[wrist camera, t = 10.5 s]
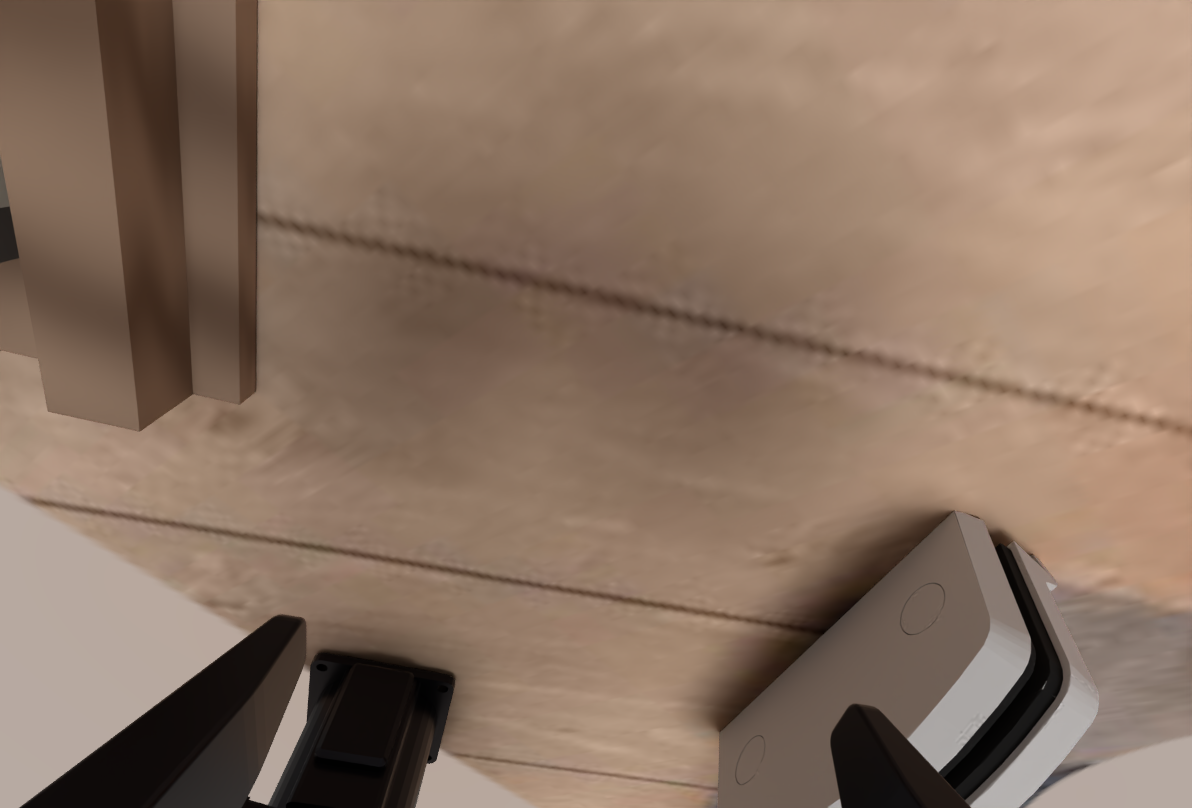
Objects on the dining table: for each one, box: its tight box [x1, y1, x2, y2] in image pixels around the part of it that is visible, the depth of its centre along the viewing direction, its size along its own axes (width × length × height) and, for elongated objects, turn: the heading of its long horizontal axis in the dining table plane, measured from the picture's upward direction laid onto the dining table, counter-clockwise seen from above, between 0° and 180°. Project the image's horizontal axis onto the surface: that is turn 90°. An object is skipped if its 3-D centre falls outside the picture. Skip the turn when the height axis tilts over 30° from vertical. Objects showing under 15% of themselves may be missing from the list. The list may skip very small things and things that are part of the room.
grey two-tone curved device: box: [718, 511, 1099, 808], centre depth 23 cm, size 17×5×10 cm, turn 151°
